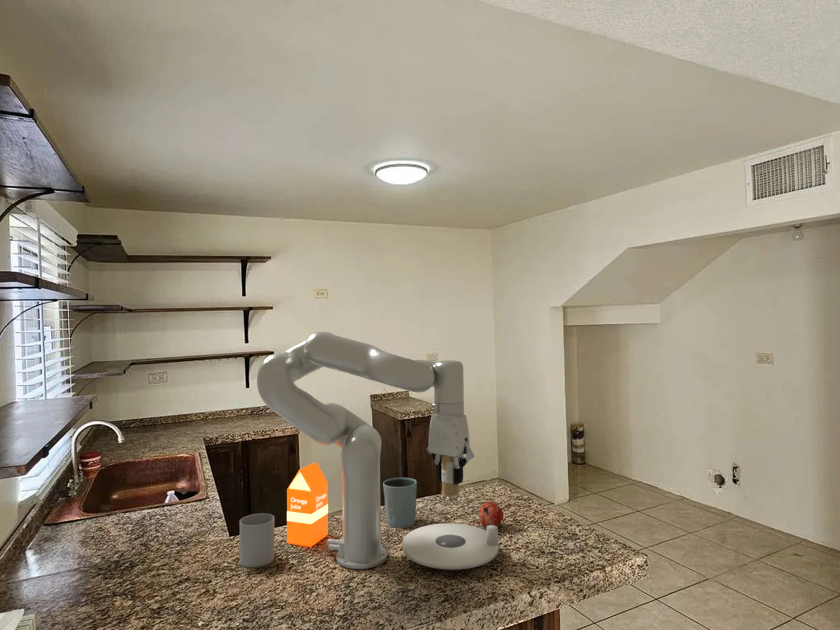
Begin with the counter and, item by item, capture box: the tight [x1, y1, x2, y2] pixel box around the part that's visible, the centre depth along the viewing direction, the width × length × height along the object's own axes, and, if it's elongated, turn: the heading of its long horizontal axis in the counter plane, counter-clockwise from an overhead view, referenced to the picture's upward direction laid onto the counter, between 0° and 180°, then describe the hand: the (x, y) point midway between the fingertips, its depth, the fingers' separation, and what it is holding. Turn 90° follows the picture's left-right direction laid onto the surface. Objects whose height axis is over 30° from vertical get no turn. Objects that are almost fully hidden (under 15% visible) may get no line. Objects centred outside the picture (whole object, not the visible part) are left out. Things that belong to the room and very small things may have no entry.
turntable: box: [402, 522, 499, 570], centre depth 129 cm, size 24×24×8 cm
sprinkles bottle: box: [440, 455, 460, 497], centre depth 130 cm, size 5×5×13 cm
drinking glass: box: [382, 477, 418, 529], centre depth 153 cm, size 10×10×12 cm
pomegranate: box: [478, 501, 505, 528], centre depth 148 cm, size 7×7×10 cm
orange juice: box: [286, 461, 329, 548], centre depth 141 cm, size 8×9×20 cm
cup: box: [239, 513, 275, 568], centre depth 128 cm, size 8×8×10 cm
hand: (450, 480), depth 130 cm, fingers closed on sprinkles bottle, 4 cm apart
